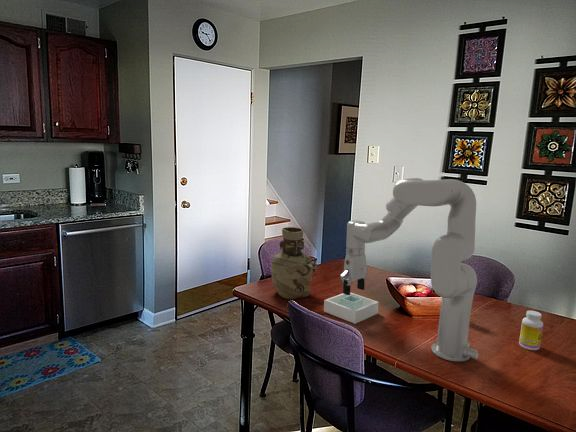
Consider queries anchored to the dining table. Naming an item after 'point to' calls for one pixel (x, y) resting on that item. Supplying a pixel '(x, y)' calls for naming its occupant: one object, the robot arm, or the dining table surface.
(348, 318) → the white square tray
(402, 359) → the dining table surface
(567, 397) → the dining table surface
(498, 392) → the dining table surface
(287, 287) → the ceramic vessel
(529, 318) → the supplement bottle
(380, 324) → the dining table surface
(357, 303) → the small crate
